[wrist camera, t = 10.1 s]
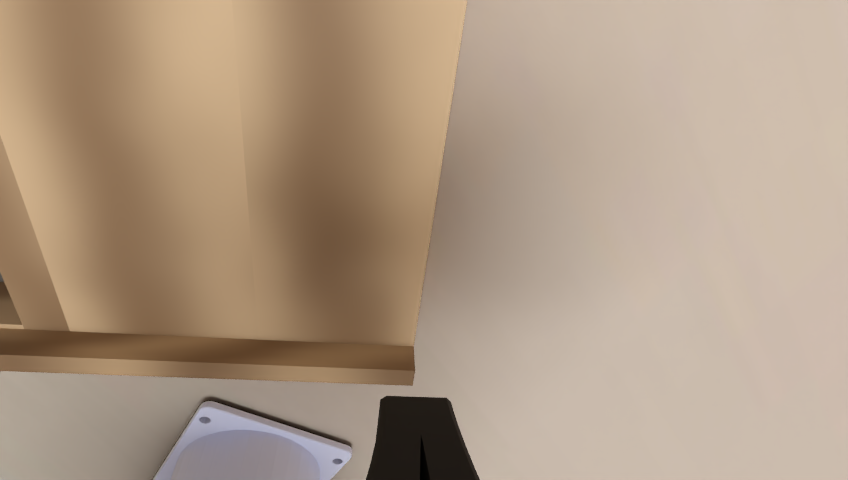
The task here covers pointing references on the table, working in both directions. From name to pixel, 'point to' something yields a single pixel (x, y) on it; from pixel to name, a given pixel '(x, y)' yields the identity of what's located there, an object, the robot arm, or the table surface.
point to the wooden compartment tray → (220, 184)
